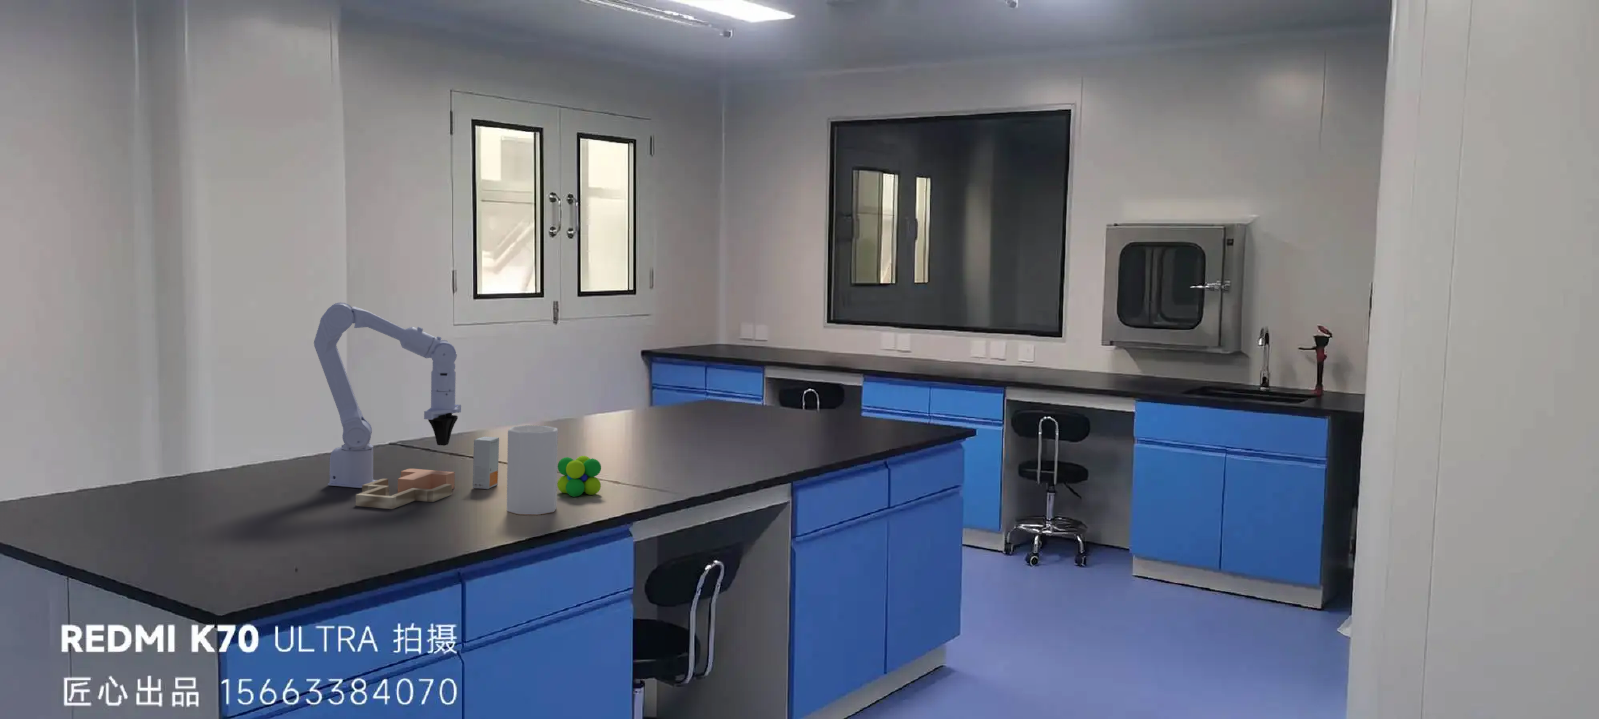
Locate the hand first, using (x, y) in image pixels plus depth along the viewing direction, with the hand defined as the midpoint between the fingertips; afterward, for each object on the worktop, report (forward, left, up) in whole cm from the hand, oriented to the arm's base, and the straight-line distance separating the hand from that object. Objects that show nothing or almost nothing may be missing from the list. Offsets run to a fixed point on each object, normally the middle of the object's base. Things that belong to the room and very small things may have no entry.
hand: (442, 444), depth 283 cm
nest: (0, -21, -9) cm, 23 cm away
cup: (+33, -20, -10) cm, 40 cm away
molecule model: (+36, 0, -10) cm, 37 cm away
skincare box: (+12, -1, -10) cm, 15 cm away
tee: (0, -11, -9) cm, 15 cm away
